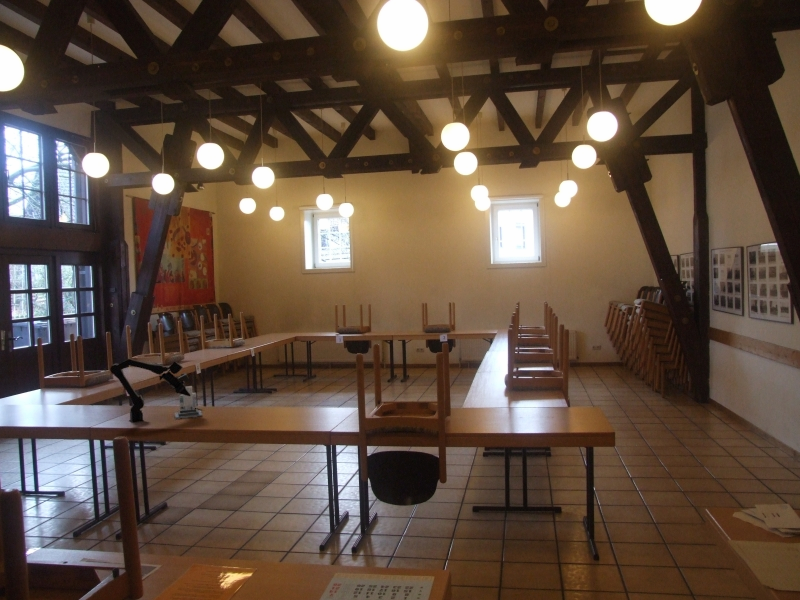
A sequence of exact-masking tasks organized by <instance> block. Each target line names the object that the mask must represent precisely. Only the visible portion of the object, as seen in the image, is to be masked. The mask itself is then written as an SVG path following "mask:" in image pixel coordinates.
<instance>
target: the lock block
mask: <svg viewBox="0 0 800 600" xmlns="http://www.w3.org/2000/svg"><path fill="white" fill-rule="evenodd" d="M185 389H186V390H187V391H188V392H189V394H190V396H186V395H183V394H182V395H183V404H184V407H185V406H193V399H192V393H193V385H189V386H186V385H185Z"/></svg>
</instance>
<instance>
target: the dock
mask: <svg viewBox="0 0 800 600" xmlns="http://www.w3.org/2000/svg"><path fill="white" fill-rule="evenodd" d="M197 416H202V417H203V413H202V411H201V409H200V410H199V409H198V408H196V409H191V410H181V411H180V410H178V411H177V412H174V417H175V418H174V419H175V420H181V419H180V418H184V419H189V418H188V417H193V418H198V417H197Z"/></svg>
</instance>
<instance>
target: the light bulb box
mask: <svg viewBox="0 0 800 600" xmlns="http://www.w3.org/2000/svg"><path fill="white" fill-rule="evenodd" d="M192 399H193V406H185V407H184V404H183V394H179V411H181V410H191V409H195V408H196V409H198V407H197V405H198V404H197V401H198V400H197V392H192Z"/></svg>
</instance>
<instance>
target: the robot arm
mask: <svg viewBox="0 0 800 600" xmlns="http://www.w3.org/2000/svg"><path fill="white" fill-rule="evenodd" d="M129 366H131V367H134V368H138V369H143V370H148V371H149V372H152V373H154V374H156V375H159V377H158V378H159V381H162V380H164V381H165V382H167V383H168V384H169V385H170V386H171V387H172V388H174V389H175V390H174V392H175V393H176V394H179V395H186V396H190V394H189V392H188V391H187V390H186V389H185V387H186V382H185V381H186V380H189V379H190V378H189V376H188V374H187V373H183V372H182V373H181V374H180V376H179V377H178V376H175V374H176V375H177V374H179V372H180V371H181V370H182V369H183V365H181V364H180V363H178V362H177V361H176V360H174V361H173V362H172V363H171V364H170V365H169V366H164V365H162V364H157V363H148V362H144V361H140V360H137V359H133V358H130V357H129V358H127V359H125V360H123V361H121V362H119V363H113V364H112V365H111V367H110V368H109V369H110V370H109V371H110V373H111V374H112V375H113V376H114V377H116V378H117V380H118V381H119V382H120V384H121V385H122V387H123V388H124V390H125V391H126V392H127V394H128V396H129V397H130V399H131V403H132V406H131V408H130V409H129V410H130V411H129V420H128V421H129V422H131V423H135V422H136V423H137V422H142V421H144V413H143V410H141V409H143V407H144V406H145V399H144V397H143V396H142V394H140V395H139V394H137V392H136V391H135V389H134V387H133V386H132V385H131V383H130V381H128V378H127V377H126V376H125V373H124V370H123V369H125V368H127V367H129Z"/></svg>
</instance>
